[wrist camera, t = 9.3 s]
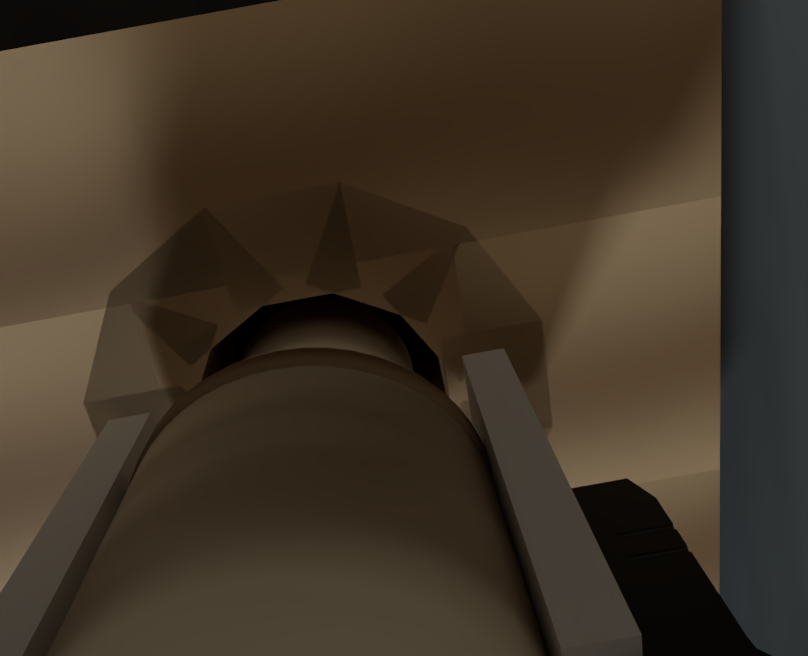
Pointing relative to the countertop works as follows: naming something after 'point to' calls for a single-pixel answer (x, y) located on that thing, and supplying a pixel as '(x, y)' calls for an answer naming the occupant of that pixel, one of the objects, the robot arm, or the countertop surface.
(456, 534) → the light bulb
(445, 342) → the block
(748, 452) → the countertop surface
